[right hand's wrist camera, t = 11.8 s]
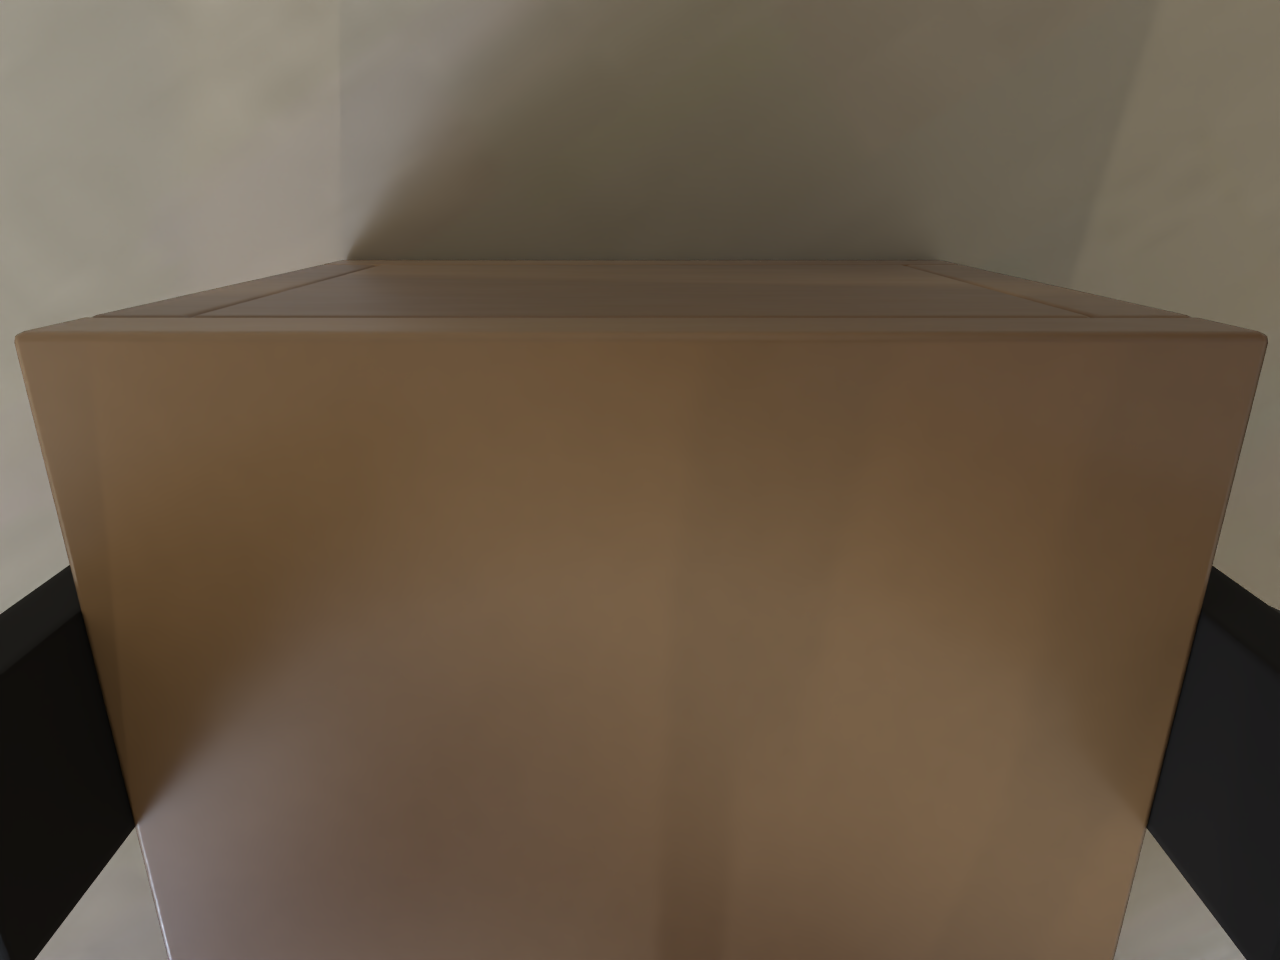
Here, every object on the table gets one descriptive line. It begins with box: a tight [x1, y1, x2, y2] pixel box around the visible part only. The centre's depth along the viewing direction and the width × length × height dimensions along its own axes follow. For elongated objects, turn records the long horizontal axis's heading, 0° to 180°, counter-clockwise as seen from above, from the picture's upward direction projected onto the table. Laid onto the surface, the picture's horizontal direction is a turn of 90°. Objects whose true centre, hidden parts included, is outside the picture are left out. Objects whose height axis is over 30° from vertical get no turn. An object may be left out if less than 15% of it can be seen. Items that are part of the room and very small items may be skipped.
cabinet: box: [15, 260, 1268, 960], centre depth 14 cm, size 17×11×9 cm
